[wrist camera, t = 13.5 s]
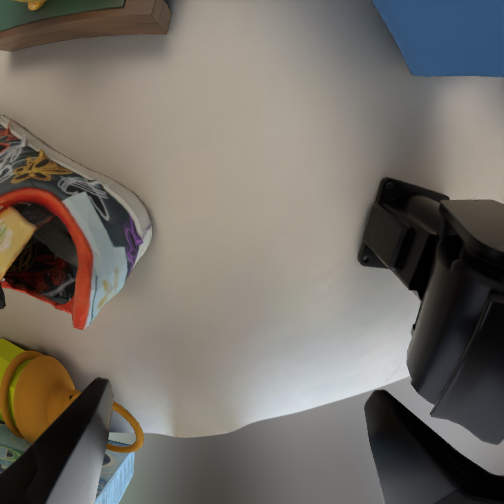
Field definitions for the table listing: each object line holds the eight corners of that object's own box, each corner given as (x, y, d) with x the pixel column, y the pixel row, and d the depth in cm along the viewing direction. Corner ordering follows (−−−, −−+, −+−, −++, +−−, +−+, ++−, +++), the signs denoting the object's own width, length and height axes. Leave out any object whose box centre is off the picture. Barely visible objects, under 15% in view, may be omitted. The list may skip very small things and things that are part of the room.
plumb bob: (-9, 371, 24) (162, 432, 25) (-48, 406, 16) (137, 502, 16) (-28, 308, 23) (153, 360, 23) (-77, 338, 14) (112, 436, 14)
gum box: (135, 445, 31) (96, 501, 11) (133, 477, 29) (99, 554, 9) (13, 406, 28) (-91, 398, 8) (12, 437, 25) (-89, 448, 5)
